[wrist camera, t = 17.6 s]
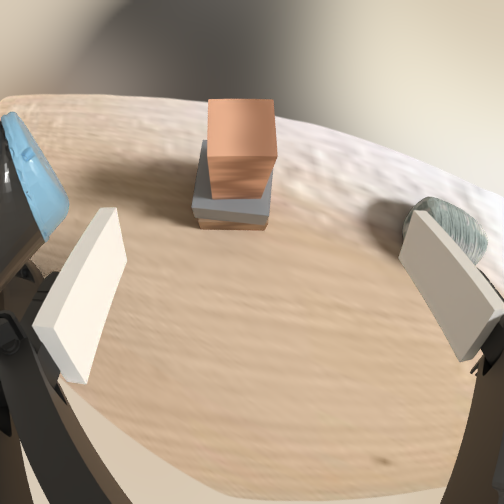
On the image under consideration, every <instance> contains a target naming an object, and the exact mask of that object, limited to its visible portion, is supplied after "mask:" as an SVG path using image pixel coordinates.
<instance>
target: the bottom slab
mask: <svg viewBox="0 0 504 504" xmlns="http://www.w3.org/2000/svg"><path fill="white" fill-rule="evenodd" d="M198 223H199V226H200V229H210V230H262V231H264V230H265V228H266V226H267V225H268V219H267V221H266V223H265V225H257V224H248V223H239V222H230V221H220V220H211V219H201V218H198Z"/></svg>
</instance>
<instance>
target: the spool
mask: <svg viewBox="0 0 504 504" xmlns="http://www.w3.org/2000/svg"><path fill="white" fill-rule="evenodd" d="M413 210H419V211H427V212H428V213H429V214H430V216H431V217H432V218H433V219H434V220H435V221H436V222H437V223H438V224H439V225H440V226H441V227H442V228H443V229H444V230H445V232H446V233H447V234H448V235H449V236H450V237H451V238H452V239H453V240H454V242H455V243H456V244H457V245H458V246H459V247H460V248H461V250H462V251H463V252H464V253H465V254H466V255H467V257H468V258H469V259H470V260H471V261H472V263H473V264H474V265H476V264H477V263H478V262H479V261H480V260H481V259H482V257H483V256H484V254H485V252H486V249H487V245H488V237H487V235H486V233H485V231H484V229H483V228H482V226H481V225H480V224H479V223H478V222H477V221H476V220H475V219H474V218H473V217H471V216H470V215H469V214H467V213H466V212H464V211H463V210H461V209H460V208H458V207H456V206H454V205H452V204H450V203H448V202H445V201H442V200H440V199H438V198H434V197H426V198H424V199H422V200H421V201H419V202H418V203H417V204H416V205H415V206H414V207H413V208H412V209H411V211H410V212H409V214H408V216H407V217H406V219H405V221H404V225H403V231H402V235H403V239H405V236H406V233H407V230H408V227H409V224H410V220H411V217H412V214H413Z"/></svg>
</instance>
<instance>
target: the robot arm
mask: <svg viewBox="0 0 504 504" xmlns="http://www.w3.org/2000/svg"><path fill="white" fill-rule="evenodd" d="M68 209H69V200H68V196H67V194H66V192H65V190H64V188H63V186H62V184H61V183H60V181H59V179H58V177H57V176H56V174H55V172H54V171H53V169H52V167H51V165H50V164H49V162H48V161H47V159H46V157H45V156H44V154H43V152H42V151H41V149H40V148H39V146H38V144H37V143H36V141H35V139H34V138H33V136H32V135H31V133H30V132H29V130H28V128H27V127H26V125H25V124H24V122H23V121H22V120H21V119H20V118H19V117H18V115H17V113H15V112H10V113H8V114H7V115H3V116H2V117H1V121H0V504H34V503H33V500H32V496H31V492H30V488H29V484H28V481H27V476H26V472H25V467H24V462H23V457H22V451H21V446H20V441H21V443H22V446H23V448H24V451H25V453H26V456H27V458H28V460H29V462H30V465H31V467H32V469H33V471H34V473H35V476H36V478H37V480H38V482H39V484H40V486H41V488H42V490H43V492H44V493H45V495H46V497H47V499H48V501H49V503H50V504H132V502H131V501H130V500H129V498H128V497H127V496H126V494H125V493H124V492H123V490H122V489H121V488H120V486H119V485H118V483H117V482H116V481H115V479H114V478H113V476H112V475H111V473H110V472H109V470H108V469H107V467H106V466H105V464H104V463H103V461H102V460H101V458H100V457H99V455H98V453H97V452H96V450H95V449H94V447H93V445H92V444H91V442H90V440H89V439H88V437H87V435H86V434H85V432H84V430H83V428H82V427H81V425H80V423H79V421H78V419H77V418H76V416H75V414H74V412H73V410H72V408H71V406H70V404H69V402H68V400H67V398H66V396H65V394H64V392H63V390H62V388H61V386H60V384H59V383H58V382H57V380H58V377H59V374H60V372H61V374H62V375H63V377H64V378H65V379H66V381H67V382H73V383H80V384H87V381H88V377H89V374H90V370H91V366H92V363H93V359H94V356H95V353H96V349H97V346H98V343H99V340H100V336H101V333H102V330H103V327H104V324H105V321H106V318H107V315H108V312H109V309H110V306H111V303H112V300H113V297H114V294H115V292H116V289H117V286H118V283H119V281H120V278H121V275H122V273H123V270H124V267H125V265H126V262H127V258H126V253H125V249H124V244H123V239H122V234H121V229H120V224H119V219H118V213H117V208H116V207H109V208H100V209H99V210H98V212H97V213H96V215H95V216H94V218H93V219H92V221H91V222H90V224H89V225H88V227H87V228H86V230H85V232H84V233H83V235H82V236H81V238H80V239H79V241H78V243H77V244H76V246H75V247H74V249H73V251H72V252H71V254H70V256H69V257H68V259H67V261H66V262H65V264H64V266H63V268H62V269H61V271H60V272H52V273H50V274H49V275H48V276H47V277H46V278H45V279H44V278H43V276H42V274H41V272H40V271H39V269H38V268H37V267H36V265H35V264H34V263H33V262H32V261H31V260H29V259H30V258H31V257H32V255H33V254H34V253H35V252H36V251H37V250H38V249H39V248H40V247H41V246H42V245H43V244H44V243H45V242H47V241H48V240H49V236H50V235H51V233H52V232H53V231H54V230H55V229H56V228H57V227H58V225H59V224H60V223H61V222H62V221H63V220H64V219H65V217H66V215H67V213H68ZM398 259H399V260H400V262H401V263H402V265H403V266H404V268H405V270H406V271H407V273H408V274H409V276H410V277H411V279H412V280H413V282H414V284H415V285H416V287H417V288H418V290H419V292H420V293H421V295H422V297H423V298H424V300H425V302H426V303H427V305H428V307H429V308H430V310H431V312H432V313H433V315H434V317H435V319H436V320H437V322H438V324H439V326H440V327H441V329H442V331H443V333H444V335H445V336H446V338H447V340H448V342H449V344H450V346H451V347H452V349H453V351H454V353H455V355H456V357H457V359H458V361H459V362H463V361H467V360H470V359H473V358H474V356H475V355H476V354H477V352H478V351H479V350H480V348H481V350H482V352H483V355H482V357H481V358H480V359H479V361H478V362H477V363H476V364H475V366H474V367H473V368H472V369H471V372H470V373H471V374H472V373H473V372H474V371H475V370H476V369H478V372H477V373H476V374H475V376H477V378H476V384H475V389H474V394H473V399H472V404H471V408H470V413H469V417H468V421H467V425H466V429H465V433H464V436H463V440H462V443H461V447H460V450H459V453H458V456H457V460H456V463H455V466H454V469H453V471H452V474H451V477H450V480H449V483H448V485H447V488H446V491H445V493H444V496H443V498H442V500H441V503H440V504H504V299H503V297H502V296H501V295H500V293H499V292H498V291H497V290H496V289H495V287H494V286H493V284H492V283H490V280H489V279H488V278H487V277H486V275H485V274H484V273H483V272H482V271H481V270H479V269H478V268H477V267H476V266H475V265H474V264H473V263H472V261H471V260H470V259H469V258H468V257H467V255H466V254H465V253H464V252H463V251H462V250H461V248H460V247H459V246H458V245H457V244H456V243H455V242H454V240H453V239H452V238H451V237H450V236H449V235H448V234H447V233H446V232H445V230H444V229H443V228H442V227H441V226H440V225H439V224H438V223H437V222H436V221H435V220H434V219H433V218H432V217H431V216H430V214H429V213H428V212H427V211H419V210H413V214H412V217H411V220H410V224H409V227H408V230H407V233H406V236H405V239H404V242H403V245H402V248H401V251H400V254H399V257H398ZM19 438H20V439H19Z"/></svg>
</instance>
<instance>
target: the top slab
mask: <svg viewBox="0 0 504 504" xmlns="http://www.w3.org/2000/svg"><path fill="white" fill-rule="evenodd" d="M272 175H273V169H272V172H271V174H270V177H269V179H268V182H267V185H266V187H265V190H264V192H263V195H262V197H261V199H218V200H213V199H212V192H211V184H210V176H209V168H208V159H207V140H203V142H202V148H201V153H200V159H199V164H198V170H197V176H196V182H195V188H194V195H193V201H192V210H193V213H194V216H195V218H201V219H211V220H220V221H230V222H239V223H248V224H257V225H265V223H266V221H267V219H268V217H269V211H270V199H271V187H272Z"/></svg>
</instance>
